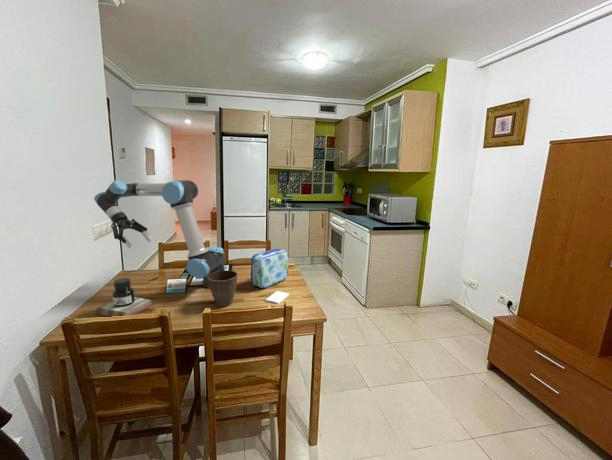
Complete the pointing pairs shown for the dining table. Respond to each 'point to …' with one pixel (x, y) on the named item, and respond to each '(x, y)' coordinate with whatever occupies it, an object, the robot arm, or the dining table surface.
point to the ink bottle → (123, 293)
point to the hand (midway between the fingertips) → (140, 243)
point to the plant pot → (223, 286)
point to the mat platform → (124, 308)
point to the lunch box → (269, 267)
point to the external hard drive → (277, 297)
